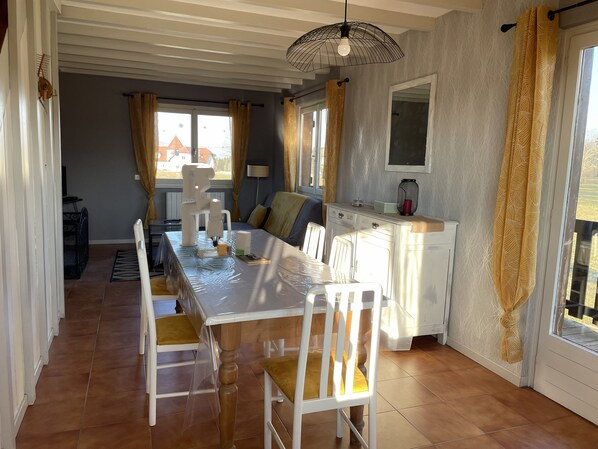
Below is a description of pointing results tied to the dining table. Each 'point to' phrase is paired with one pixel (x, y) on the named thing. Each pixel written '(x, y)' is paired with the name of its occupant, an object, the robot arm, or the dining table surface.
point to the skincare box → (242, 243)
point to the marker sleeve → (222, 249)
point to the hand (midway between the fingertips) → (215, 246)
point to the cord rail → (202, 255)
